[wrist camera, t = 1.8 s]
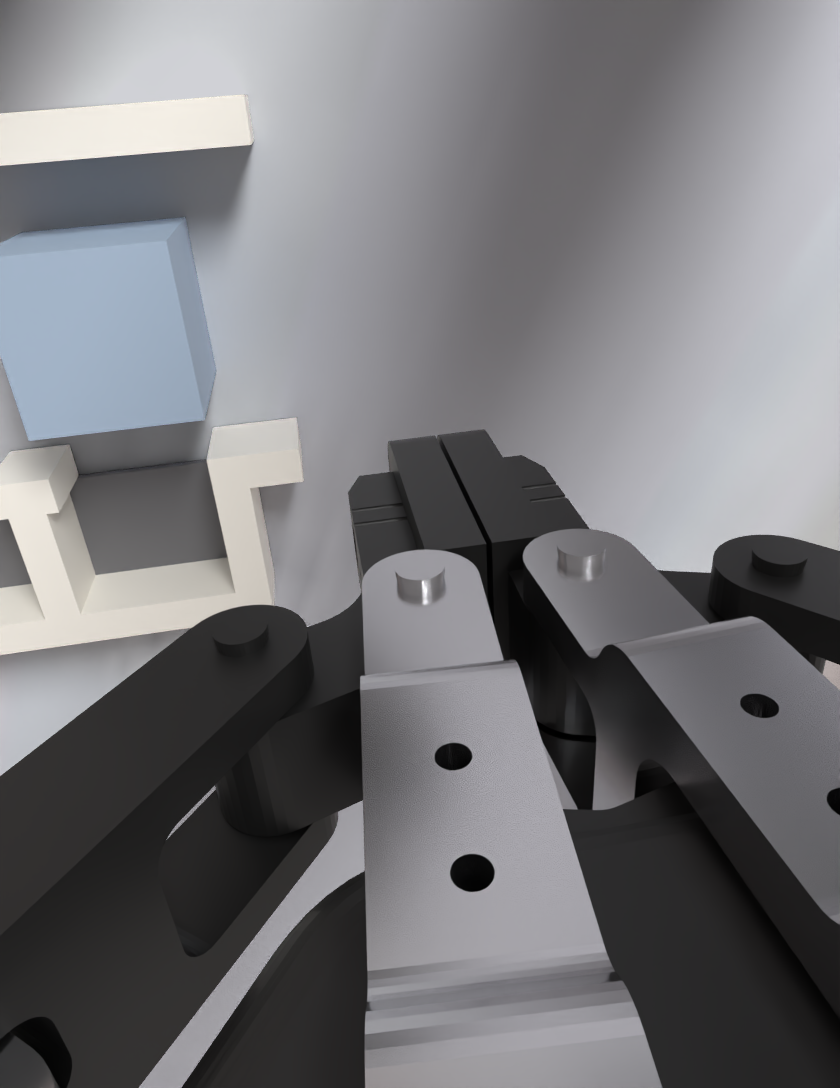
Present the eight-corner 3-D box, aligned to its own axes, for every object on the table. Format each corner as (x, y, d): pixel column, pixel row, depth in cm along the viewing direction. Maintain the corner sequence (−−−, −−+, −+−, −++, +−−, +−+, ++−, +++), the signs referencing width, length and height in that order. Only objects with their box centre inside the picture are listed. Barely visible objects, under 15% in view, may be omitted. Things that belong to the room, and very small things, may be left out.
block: (185, 216, 25) (166, 240, 21) (216, 370, 28) (204, 420, 23) (22, 232, 25) (-32, 259, 20) (68, 387, 27) (29, 440, 23)
